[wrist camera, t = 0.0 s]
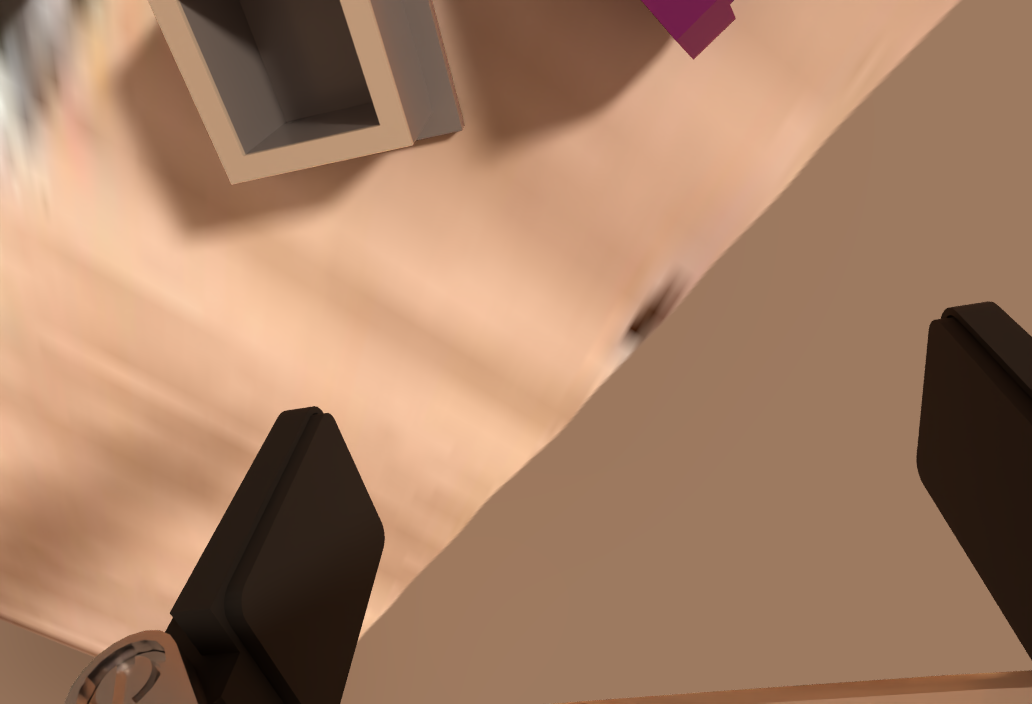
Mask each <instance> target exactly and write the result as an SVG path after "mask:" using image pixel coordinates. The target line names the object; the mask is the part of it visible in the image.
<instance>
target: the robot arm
mask: <svg viewBox="0 0 1032 704" xmlns="http://www.w3.org/2000/svg"><path fill="white" fill-rule="evenodd" d="M917 468H918V472H919V476H920V478H921V481H922V483H923V485H924V486H925V488H926V489H927V491H928V493H929V494H930V496H931V497H932V499H933V501H934V502H935V504H936V505H937V507H938V509H939V510H940V512H941V514H942V515H943V517H944V519H945V520H946V522H947V523H948V525H949V527H950V528H951V530H952V532H953V533H954V535H955V536H956V538H957V540H958V541H959V543H960V545H961V546H962V548H963V549H964V551H965V553H966V554H967V556H968V557H969V559H970V561H971V562H972V564H973V566H974V567H975V569H976V570H977V572H978V574H979V575H980V577H981V578H982V580H983V582H984V584H985V585H986V587H987V588H988V590H989V591H990V593H991V595H992V596H993V598H994V600H995V601H996V603H997V605H998V606H999V608H1000V609H1001V611H1002V613H1003V614H1004V616H1005V617H1006V619H1007V621H1008V622H1009V624H1010V626H1011V627H1012V629H1013V630H1014V632H1015V634H1016V635H1017V637H1018V639H1019V640H1020V642H1021V644H1022V645H1023V647H1024V648H1025V650H1026V652H1027V653H1028V655H1029V657H1030V658H1031V659H1032V337H1031V336H1030V335H1029V334H1028V333H1027V332H1026V331H1025V330H1024V329H1023V328H1021V326H1019V325H1018V324H1017V323H1016V322H1015V321H1014V320H1013V319H1012V318H1011V317H1010V316H1009V315H1008V314H1007V313H1006V312H1004V311H1003V310H1002V309H1001V308H1000V307H999V306H998V305H997V304H995V303H994V302H982V303H976V304H969V305H963V306H957V307H951V308H947V309H946V310H945V311H944V312H943V314H942V316H941V319H938V320H934V321H932V322H931V324H930V327H929V334H928V344H927V355H926V365H925V376H924V385H923V396H922V406H921V417H920V427H919V437H918V447H917ZM384 540H385V536H384V529H383V525H382V522H381V520H380V518H379V516H378V514H377V511H376V509H375V507H374V505H373V503H372V500H371V498H370V496H369V494H368V492H367V489H366V487H365V485H364V483H363V481H362V479H361V476H360V474H359V472H358V470H357V468H356V465H355V463H354V461H353V459H352V457H351V454H350V452H349V450H348V448H347V446H346V443H345V441H344V439H343V437H342V435H341V432H340V430H339V428H338V426H337V424H336V421H335V419H334V418H333V416H332V415H331V414H329V413H323V412H322V410H321V409H320V408H318V407H315V406H313V407H307V408H300V409H294V410H287V411H284V412H282V413H281V414H280V415H279V416H278V418H277V420H276V422H275V423H274V425H273V427H272V429H271V431H270V432H269V434H268V436H267V438H266V440H265V442H264V443H263V445H262V447H261V449H260V451H259V452H258V454H257V456H256V458H255V460H254V461H253V463H252V465H251V467H250V469H249V470H248V472H247V474H246V476H245V478H244V480H243V481H242V483H241V485H240V487H239V489H238V490H237V492H236V494H235V496H234V498H233V499H232V501H231V503H230V505H229V507H228V508H227V510H226V512H225V514H224V516H223V518H222V519H221V521H220V523H219V525H218V527H217V528H216V530H215V532H214V534H213V536H212V537H211V539H210V541H209V543H208V545H207V547H206V548H205V550H204V552H203V554H202V556H201V557H200V559H199V561H198V563H197V565H196V566H195V568H194V570H193V572H192V574H191V575H190V577H189V579H188V581H187V583H186V585H185V586H184V588H183V590H182V592H181V594H180V595H179V597H178V599H177V601H176V603H175V604H174V606H173V608H172V610H171V612H170V614H171V615H172V617H173V619H172V620H171V622H170V624H169V626H168V628H167V630H166V631H165V632H163V631H160V630H148V631H142V632H139V633H136V634H132V635H129V636H127V637H125V638H123V639H122V640H120V641H118V642H116V643H114V644H112V645H111V646H110V647H108V648H107V649H106V650H104V651H103V652H102V653H100V654H99V655H97V656H96V657H95V658H94V660H92V661H91V662H90V663H89V664H88V666H87V667H85V668H84V669H83V671H82V672H81V674H80V675H79V676H78V678H77V679H76V681H75V682H74V683H73V685H72V686H71V688H70V691H69V693H68V696H67V698H66V700H65V704H340V702H341V699H342V695H343V691H344V688H345V684H346V680H347V677H348V673H349V669H350V666H351V662H352V659H353V655H354V652H355V648H356V645H357V641H358V637H359V634H360V630H361V627H362V623H363V619H364V616H365V612H366V609H367V605H368V602H369V598H370V594H371V591H372V587H373V584H374V580H375V576H376V573H377V569H378V566H379V562H380V558H381V555H382V551H383V548H384ZM553 704H1032V670H1031V671H1013V672H996V673H976V674H957V675H941V676H926V677H912V678H898V679H883V680H869V681H855V682H840V683H826V684H812V685H797V686H783V687H768V688H755V689H740V690H727V691H713V692H700V693H687V694H672V695H659V696H645V697H633V698H619V699H606V700H592V701H579V702H567V703H553Z"/></svg>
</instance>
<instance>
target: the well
mask: <svg viewBox="0 0 1032 704" xmlns="http://www.w3.org/2000/svg"><path fill="white" fill-rule="evenodd" d="M148 2H149V4H150V6H151V9H152V11H153V13H154V15H155V17H156V20H157V22H158V24H159V26H160V28H161V31H162V33H163V35H164V37H165V39H166V42H167V44H168V46H169V48H170V51H171V53H172V55H173V57H174V59H175V62H176V64H177V66H178V68H179V70H180V73H181V75H182V77H183V79H184V81H185V84H186V86H187V88H188V90H189V92H190V95H191V97H192V99H193V101H194V104H195V106H196V108H197V110H198V112H199V115H200V117H201V119H202V121H203V123H204V126H205V128H206V130H207V132H208V134H209V137H210V139H211V141H212V143H213V145H214V148H215V150H216V152H217V154H218V157H219V159H220V161H221V163H222V165H223V168H224V170H225V172H226V174H227V176H228V179H229V181H230V183H231V185H233V184H237V183H242V182H247V181H251V180H256V179H260V178H265V177H270V176H274V175H279V174H284V173H288V172H293V171H297V170H302V169H307V168H311V167H316V166H320V165H325V164H330V163H334V162H339V161H344V160H348V159H353V158H357V157H362V156H367V155H371V154H376V153H381V152H385V151H390V150H394V149H399V148H404V147H408V146H413V144H414V142H415V141H416V140H420V139H425V138H430V137H434V136H439V135H443V134H448V133H453V132H457V131H462V130H463V128H464V126H465V125H464V121H463V117H462V114H461V110H460V106H459V102H458V98H457V94H456V90H455V87H454V83H453V79H452V75H451V71H450V67H449V64H448V60H447V56H446V52H445V48H444V44H443V41H442V37H441V33H440V29H439V25H438V21H437V18H436V14H435V10H434V6H433V2H432V0H148Z"/></svg>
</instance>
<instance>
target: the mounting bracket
mask: <svg viewBox="0 0 1032 704" xmlns="http://www.w3.org/2000/svg"><path fill="white" fill-rule="evenodd" d="M641 1H642V2H643V3H644V4H645V5H646V7H647V8H648V9H649V10H650V11H651V12H652V14H653V15H654V16H655V17H656V18H657V19H658V20H659V22H660V23H661V24H662V25H663V26H664V27H665V29H666V30H667V31H668V32H669V33H670V34H671V36H672V37H673V38H674V39H675V40H676V41H677V42H678V43H679V45H680V46H681V47H682V48H683V49H684V50H685V51H686V52H687V53H688V54H689V55H690V56H691V57H692V58H693V59H695V58H696V57H697V56H698V55H699V54H700V53H701V52H702V51H703V50H704V49H705V48H706V47H707V46H708V45H709V44H710V43H711V42H712V41H713V40H714V39H715V38H716V37H717V36H718V35H719V34H720V33H721V32H722V31H723V30H725V29H726V28H727V27H728V26H729V25H730V24H731V23H732V22H733V21H734V20H735V16H734V13H733V11H732V9H731V6H730V4H731V3H732V2H733V1H734V0H641Z"/></svg>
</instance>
